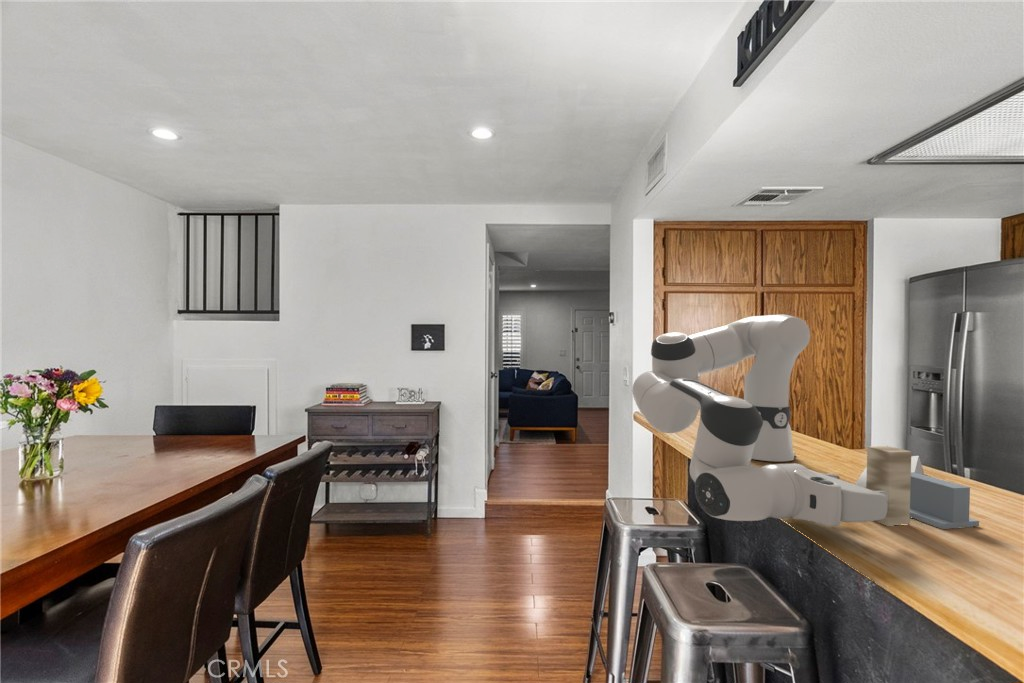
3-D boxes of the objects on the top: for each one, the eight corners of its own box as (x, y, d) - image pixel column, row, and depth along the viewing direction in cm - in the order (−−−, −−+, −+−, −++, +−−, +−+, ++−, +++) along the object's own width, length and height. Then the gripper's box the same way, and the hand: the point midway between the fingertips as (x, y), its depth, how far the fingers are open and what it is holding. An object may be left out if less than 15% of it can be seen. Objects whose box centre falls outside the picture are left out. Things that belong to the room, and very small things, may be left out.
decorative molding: (859, 511, 105) (919, 509, 99) (852, 488, 106) (911, 484, 100) (876, 478, 131) (925, 475, 125) (870, 459, 132) (918, 455, 126)
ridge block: (888, 509, 98) (889, 473, 98) (922, 507, 100) (923, 471, 100) (942, 529, 88) (943, 488, 88) (979, 526, 90) (980, 486, 90)
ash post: (865, 517, 93) (867, 446, 93) (885, 516, 94) (887, 446, 94) (888, 526, 89) (890, 452, 89) (909, 525, 90) (911, 451, 90)
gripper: (749, 490, 97) (811, 487, 100) (840, 531, 77) (914, 525, 80) (750, 457, 97) (812, 455, 100) (842, 489, 77) (916, 485, 80)
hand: (858, 486), depth 90 cm, fingers open, 8 cm apart
